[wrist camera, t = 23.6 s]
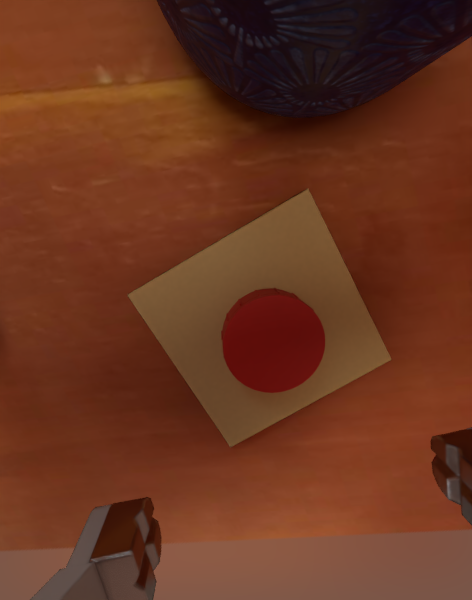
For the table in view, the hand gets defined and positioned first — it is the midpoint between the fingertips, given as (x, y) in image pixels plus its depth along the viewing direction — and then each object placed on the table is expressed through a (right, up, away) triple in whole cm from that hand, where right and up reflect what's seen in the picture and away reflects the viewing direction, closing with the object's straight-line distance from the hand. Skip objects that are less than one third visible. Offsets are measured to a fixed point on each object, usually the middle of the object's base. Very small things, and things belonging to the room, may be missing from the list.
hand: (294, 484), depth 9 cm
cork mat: (0, +3, +14) cm, 15 cm away
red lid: (+1, +2, +12) cm, 12 cm away
